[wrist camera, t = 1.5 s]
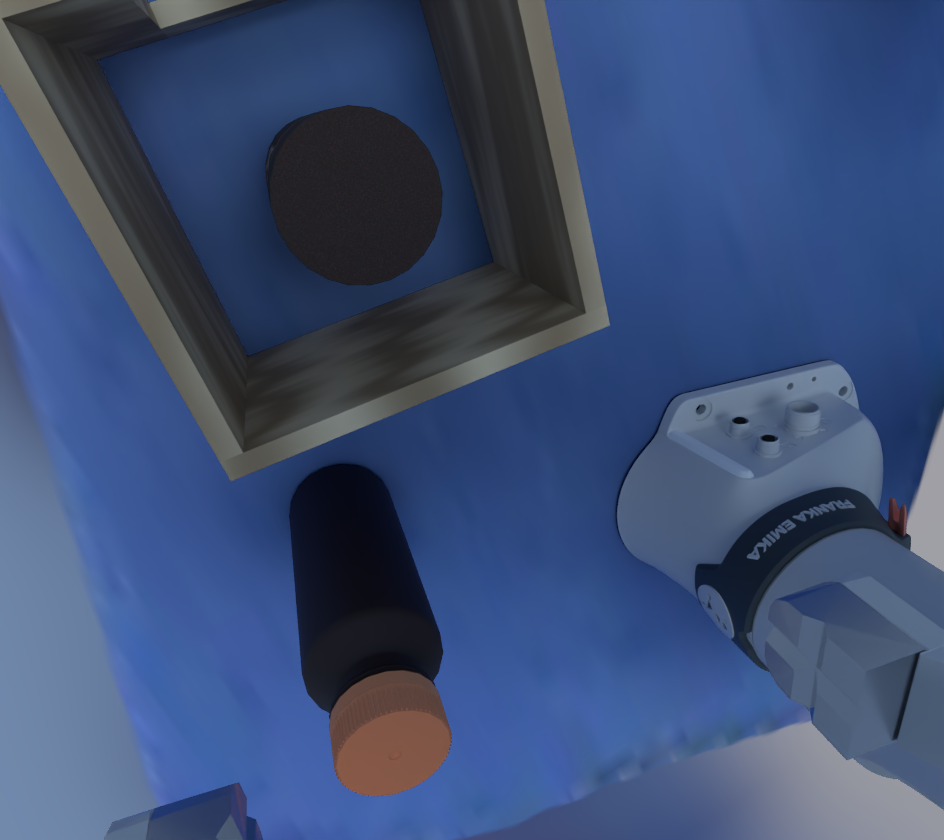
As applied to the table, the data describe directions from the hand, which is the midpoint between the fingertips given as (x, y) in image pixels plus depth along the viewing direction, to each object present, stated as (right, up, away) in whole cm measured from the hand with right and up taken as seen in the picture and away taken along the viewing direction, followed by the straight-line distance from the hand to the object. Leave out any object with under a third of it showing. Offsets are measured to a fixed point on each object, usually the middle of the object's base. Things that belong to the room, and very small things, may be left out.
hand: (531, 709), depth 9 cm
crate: (-9, +18, +26) cm, 33 cm away
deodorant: (-9, +18, +26) cm, 33 cm away
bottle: (-10, -2, +35) cm, 36 cm away
